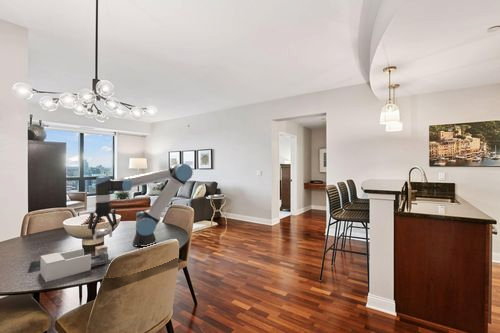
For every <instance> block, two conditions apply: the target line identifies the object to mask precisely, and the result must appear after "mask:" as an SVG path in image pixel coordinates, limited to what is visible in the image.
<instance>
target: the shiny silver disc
mask: <svg viewBox="0 0 500 333" xmlns="http://www.w3.org/2000/svg"><path fill="white" fill-rule="evenodd" d="M109 233H110V229H109V227H108V228H100V229H96V236H102V235H109Z"/></svg>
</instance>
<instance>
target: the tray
mask: <svg viewBox="0 0 500 333" xmlns="http://www.w3.org/2000/svg"><path fill="white" fill-rule="evenodd" d="M108 253H109V252H107V253H106V252H105V251H103V250H102V249H99V255H91V268H94V267H96V266H97V267H98V266H101V265H103V264H108V263H109V262H108V261H109V254H108Z"/></svg>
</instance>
